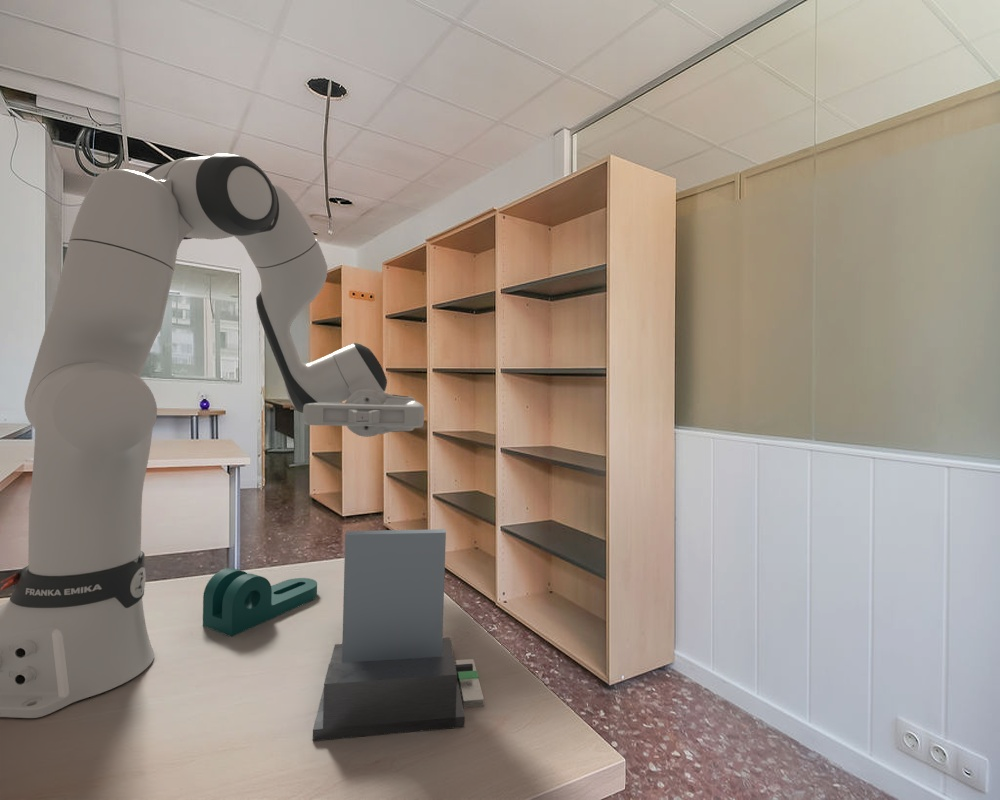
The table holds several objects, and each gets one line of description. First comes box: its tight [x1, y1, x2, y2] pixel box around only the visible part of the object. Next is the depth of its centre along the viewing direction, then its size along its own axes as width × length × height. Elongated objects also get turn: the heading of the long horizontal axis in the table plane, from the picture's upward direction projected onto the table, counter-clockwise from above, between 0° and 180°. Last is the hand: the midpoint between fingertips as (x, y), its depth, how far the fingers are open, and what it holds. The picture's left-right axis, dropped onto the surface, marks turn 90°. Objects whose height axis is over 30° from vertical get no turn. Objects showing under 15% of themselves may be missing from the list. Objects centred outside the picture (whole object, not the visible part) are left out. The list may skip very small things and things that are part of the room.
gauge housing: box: [312, 637, 485, 742], centre depth 65 cm, size 19×18×6 cm
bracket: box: [202, 567, 318, 638], centre depth 85 cm, size 18×7×8 cm, turn 153°
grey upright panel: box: [341, 528, 473, 672], centre depth 64 cm, size 16×2×18 cm, turn 101°
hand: (362, 417), depth 83 cm, fingers closed
